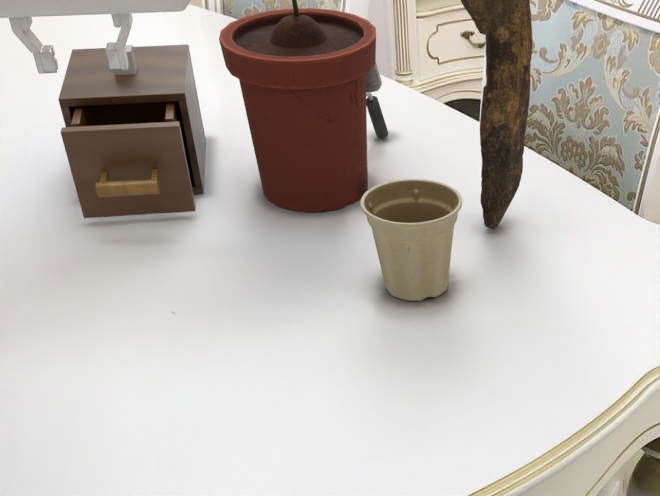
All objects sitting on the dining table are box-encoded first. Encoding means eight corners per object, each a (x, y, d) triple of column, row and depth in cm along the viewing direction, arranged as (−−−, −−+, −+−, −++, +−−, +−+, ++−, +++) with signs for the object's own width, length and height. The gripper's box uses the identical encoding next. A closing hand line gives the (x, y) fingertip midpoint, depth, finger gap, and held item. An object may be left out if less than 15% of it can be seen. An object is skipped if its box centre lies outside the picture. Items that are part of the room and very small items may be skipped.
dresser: (203, 193, 122) (184, 92, 114) (85, 201, 120) (58, 99, 112) (205, 140, 132) (188, 44, 124) (96, 146, 130) (72, 49, 122)
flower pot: (367, 312, 105) (359, 224, 99) (367, 264, 111) (360, 179, 105) (466, 309, 105) (464, 222, 99) (461, 262, 112) (459, 177, 106)
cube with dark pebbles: (114, 75, 117) (108, 49, 115) (117, 68, 119) (110, 42, 117) (135, 74, 117) (130, 48, 116) (137, 67, 119) (132, 42, 117)
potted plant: (216, 173, 126) (170, -84, 108) (384, 133, 134) (368, -111, 116) (281, 235, 115) (243, -37, 97) (460, 188, 124) (455, -70, 106)
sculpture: (441, 234, 116) (430, -103, 94) (479, 208, 120) (476, -120, 99) (498, 251, 114) (500, -90, 92) (534, 223, 118) (544, -109, 96)
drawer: (194, 229, 114) (177, 142, 108) (80, 237, 112) (55, 149, 106) (198, 158, 126) (182, 76, 120) (94, 164, 124) (73, 81, 118)
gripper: (-115, -109, 82) (-49, 88, 92) (169, -115, 84) (203, 77, 94) (-97, -129, 86) (-37, 61, 96) (172, -134, 89) (204, 52, 99)
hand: (84, 69), depth 95 cm, fingers open, 4 cm apart
